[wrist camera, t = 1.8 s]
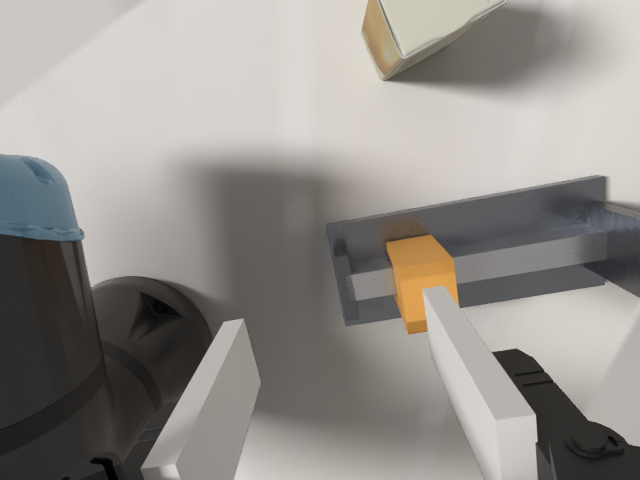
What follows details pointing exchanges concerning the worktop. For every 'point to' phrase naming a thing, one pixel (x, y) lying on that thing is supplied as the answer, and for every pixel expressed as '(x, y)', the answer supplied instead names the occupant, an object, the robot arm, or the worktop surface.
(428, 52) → the skincare box
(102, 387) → the robot arm
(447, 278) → the orange slider block
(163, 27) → the worktop surface
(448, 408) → the worktop surface
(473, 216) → the rail
